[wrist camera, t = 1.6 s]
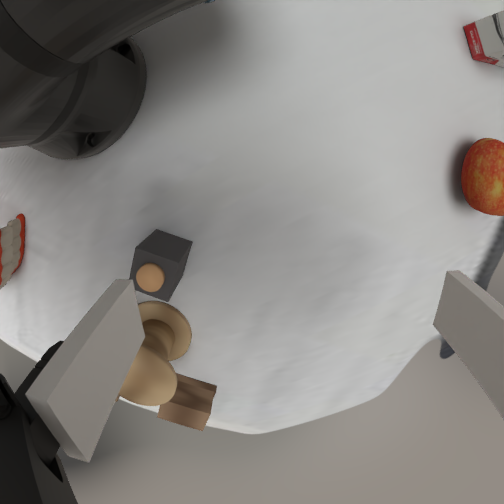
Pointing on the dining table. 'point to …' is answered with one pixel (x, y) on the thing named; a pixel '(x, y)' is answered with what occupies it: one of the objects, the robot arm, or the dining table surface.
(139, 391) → the wooden spool
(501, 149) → the apple
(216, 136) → the dining table surface
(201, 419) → the brown wooden u-shaped block
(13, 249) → the toy
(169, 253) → the dark grey rectangular block
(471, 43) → the ink box
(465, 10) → the dining table surface
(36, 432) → the robot arm
